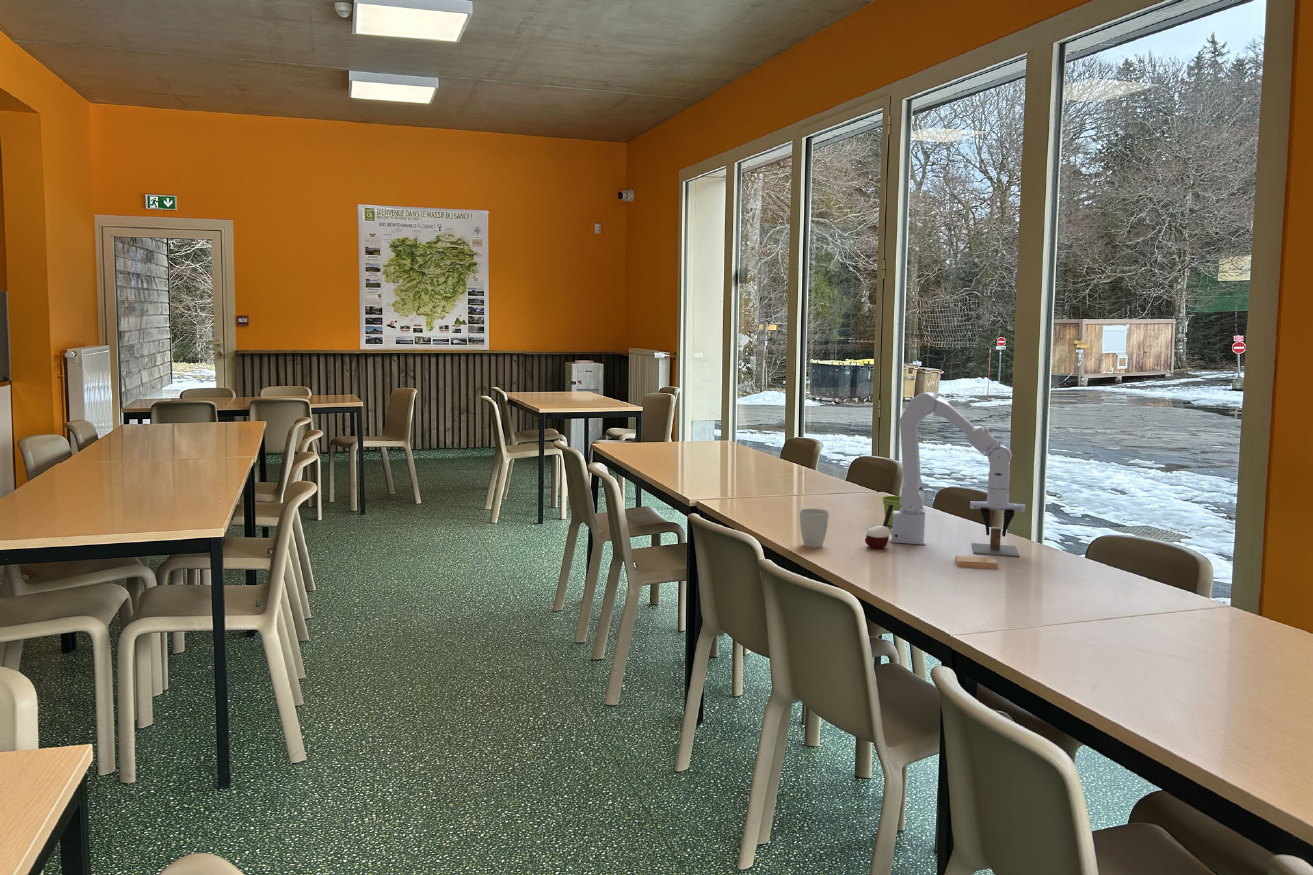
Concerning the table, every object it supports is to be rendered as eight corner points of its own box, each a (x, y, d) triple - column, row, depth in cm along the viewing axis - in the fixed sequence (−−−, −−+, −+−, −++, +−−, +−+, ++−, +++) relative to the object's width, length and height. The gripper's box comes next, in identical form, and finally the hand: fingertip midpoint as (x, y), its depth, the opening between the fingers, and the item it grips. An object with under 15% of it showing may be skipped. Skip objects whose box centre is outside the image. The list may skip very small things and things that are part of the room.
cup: (826, 542, 275) (827, 509, 274) (828, 549, 267) (829, 514, 266) (798, 541, 276) (799, 508, 275) (799, 548, 268) (800, 513, 267)
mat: (973, 553, 264) (973, 552, 264) (971, 544, 276) (971, 542, 276) (1019, 557, 261) (1019, 555, 261) (1015, 547, 273) (1015, 546, 273)
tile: (954, 562, 256) (957, 568, 250) (955, 555, 256) (958, 560, 250) (993, 565, 254) (997, 570, 248) (994, 557, 254) (997, 563, 248)
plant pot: (908, 522, 305) (909, 496, 304) (913, 528, 296) (914, 501, 295) (878, 521, 306) (879, 495, 305) (882, 527, 297) (883, 500, 296)
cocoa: (866, 551, 267) (867, 510, 265) (859, 545, 273) (859, 505, 271) (899, 549, 268) (899, 508, 266) (890, 543, 274) (891, 503, 272)
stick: (990, 549, 268) (991, 528, 268) (989, 547, 271) (991, 526, 270) (999, 549, 268) (1001, 528, 267) (999, 547, 270) (1000, 527, 269)
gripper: (972, 488, 265) (969, 536, 266) (1027, 491, 261) (1024, 540, 262) (970, 484, 271) (968, 531, 273) (1024, 487, 267) (1021, 534, 269)
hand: (995, 535), depth 268 cm, fingers open, 4 cm apart
